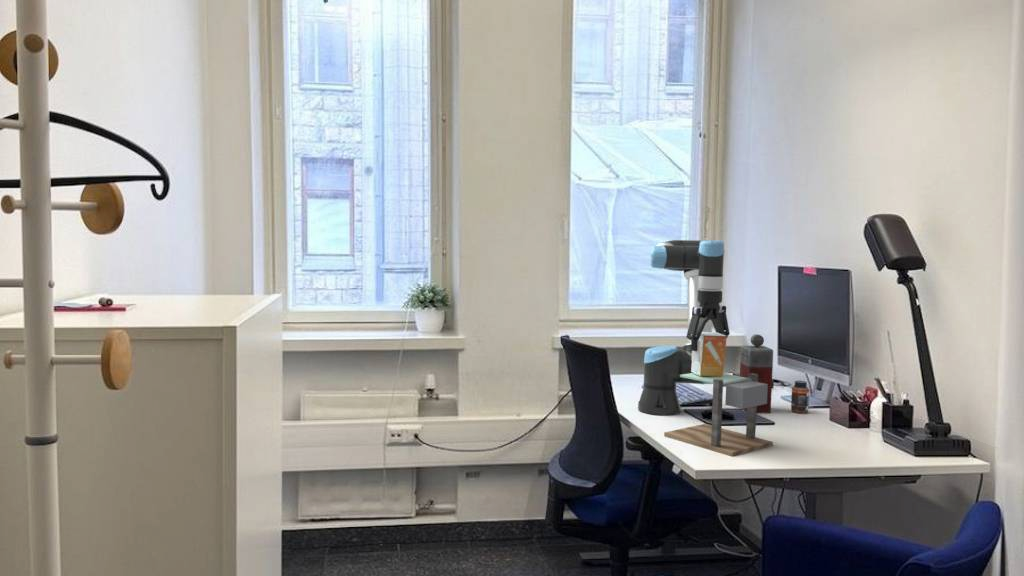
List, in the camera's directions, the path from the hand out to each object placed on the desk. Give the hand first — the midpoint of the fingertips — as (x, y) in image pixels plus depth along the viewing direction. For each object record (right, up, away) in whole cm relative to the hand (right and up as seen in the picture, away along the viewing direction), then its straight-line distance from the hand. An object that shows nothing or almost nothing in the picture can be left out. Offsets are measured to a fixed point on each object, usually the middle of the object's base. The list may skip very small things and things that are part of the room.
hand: (707, 359), depth 241 cm
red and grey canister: (+27, -22, +41) cm, 55 cm away
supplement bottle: (+43, -23, +38) cm, 62 cm away
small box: (0, -5, 0) cm, 5 cm away
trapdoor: (+4, -12, -4) cm, 13 cm away
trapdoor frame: (+3, -25, -2) cm, 25 cm away
